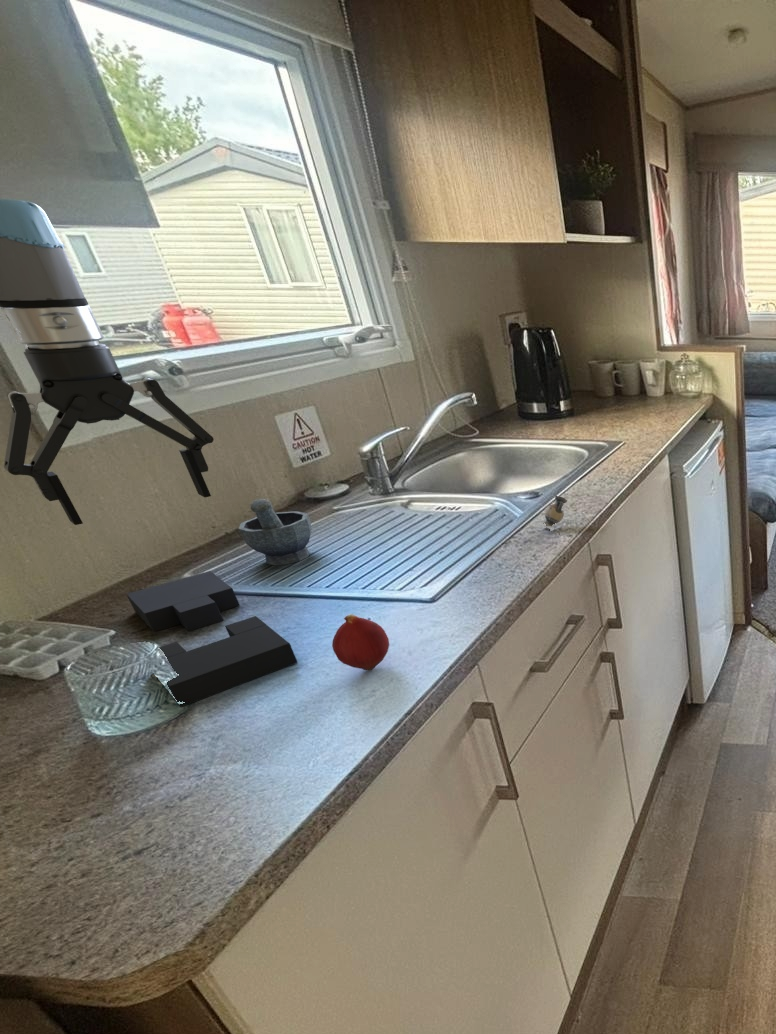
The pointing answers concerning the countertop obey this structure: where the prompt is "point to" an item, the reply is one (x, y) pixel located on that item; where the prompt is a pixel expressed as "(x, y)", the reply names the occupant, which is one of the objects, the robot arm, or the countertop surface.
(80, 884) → the countertop surface
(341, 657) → the onion
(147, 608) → the pad
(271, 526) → the mortar and pestle
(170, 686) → the notch pad
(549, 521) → the vase
